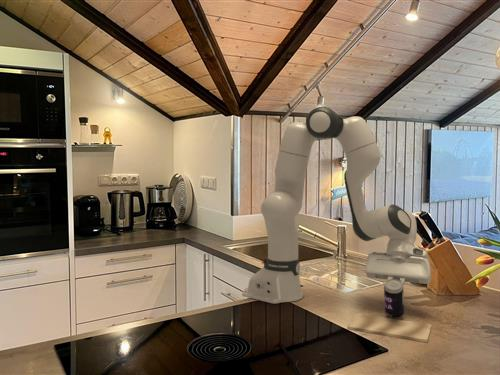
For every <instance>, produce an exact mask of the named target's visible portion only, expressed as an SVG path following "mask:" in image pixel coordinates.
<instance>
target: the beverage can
mask: <svg viewBox="0 0 500 375" xmlns="http://www.w3.org/2000/svg"><path fill="white" fill-rule="evenodd" d="M383 293H384V295H383V296H384V310H385V314H386V315H387V317H388V318H391V319H399V318H401V317H403V316H404V314H405V302H404V301H405V297H404V296H405V295H404V293H405V292H404V286H403V285H402V283H401V282H400V281H399V280H396V279H390V280H387V279H386V281H385V283H384V285H383Z"/></svg>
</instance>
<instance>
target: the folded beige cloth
mask: <svg viewBox="0 0 500 375" xmlns="http://www.w3.org/2000/svg"><path fill="white" fill-rule="evenodd" d="M347 330H350V331H351V330H352V331H357V332H362V333H369V334H375V335H381V336H386V337H392V338H396V339H397V338H398V339H404V340H408V341H409V340H410V341H415V342H420V343H426V344H427V343H428V342H429V337H430V334H431V330H432V324H430V323H429V324H428V323H423V322H416V321H411V320H410V321H409V320H404V319H399V318H391V317H384V316H377V315H371V314H364V313H360V312H359V313H357V312H356V314H355V315H354V317H353V318H352V319H351V321H350V322H349V323H348V324H347Z"/></svg>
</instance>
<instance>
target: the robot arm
mask: <svg viewBox="0 0 500 375" xmlns="http://www.w3.org/2000/svg"><path fill="white" fill-rule="evenodd" d="M331 139H336V140H337V141H338V142H339V144H340V145H341V148H342V150H343V152H344V155H345V160H346V170H345V171H344V172H343V179H344V184H345V191H346V195H347V199H348V204H349V209H350V214H351V222H352V225H351V226H352V231H353V232H354V234H355V235H356V237H358V238H359V239H360V240H363V241H365V242H369V241H373V240H376V239H378V238H382V237H386V236H387V237H388V238H389V240H388V242H387V245H386V246H387V247H386V250H385V251H386V252H378V251H377V252H376V251H373V252H370V253H368V255H367V258H366V261H367V262H366V265H365V269H364V271H365V275H366V277H367V278H370V279H371V278H372V279H379V280H386V281H387V280H390V279H396V280H399V281H400V282H401V283H402V285H403V287H404V286H405V285H406V283H413V284H415V283H416V284H424V285H428V284H430V283H431V282H432V271H431V264H430V261H429V255H428V251H426V250H424V249H422V248H419V247H416V245H415V241H416V240H417V235H418V234H417V231H418V230H417V229H418V227H417V226H418V225H417V219H416V217H415V215H414V213H412V212H411V211H408V210H404V209H403V208H402V207H401V206H398V205H396V204H389V205H385V206H380V207H378V208H376V209H375V208H374V209H371V210H368V209H367V207H366V203H365V198H364V194H363V184H364V182H365V180H366V179H367V178H368V177H369V176H370V175H371V174H372V173H373V172H374V171H375V170H376V169H377V168H378V166H379V165H380V162H381V152H380V148H379V145H378V143H377V140H376V138H375V136H374V134H373V131H372V129H371V128H370V126H369V125H368V123H367V121H366V120H365V119H364V118H363V117H361V116H350V117H347V118H343V117H342V116H341V115H340V114H339V113H338V111H336V110H335V109H333V108H331V107H328V106H318V107H315V108H313V109H312V110H311V111H309V113H308V114H307V116H306V120H305V122H301V121H300V122H299V121H296V122H295V121H294V122H291V123H289V124H288V125H287V126H286V128H285V130H284V133H283V136H282V139H281V141H280V145H279V148H278V149H279V150H278V153H277V158H276V163H275V167H274V175H275V176H274V178H275V179H274V180H275V184H274V192H271V193H269V194H268V195H267V196H266V197H265V198H264V199H263V201H262V203H261V205H260V209H261V210H260V211H261V214H262V216H263V219H264V224H265V228H266V229H265V230H266V236H267V256H266V258H264V259H263V260H261V265H263V267H262V268H261V269H259V270H258V271H257V272H255V273H254V274H253V275H252V276H250V278H249V281H248V286H247V287H246V288H245V289H243V291H242V293H241V295H242V297H246V298H248V299H253V300H257V301H261V302H266V303H270V304H280V303H290V302H296V301H298V300H301V299H303V297H304V294H303V292H302V287H301V281H300V270H301V263H300V262H301V261H300V258H299V235H298V233H297V228H296V223H295V222H296V221H295V217H296V216H297V215H299V213H300V212H301V209H302V207H303V198H304V191H305V190H304V189H305V181H306V180H305V179H306V173H307V169H308V164H309V161H310V156H311V150H312V147H313V145H314V143H315V142H317V141H327V140H331Z"/></svg>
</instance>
